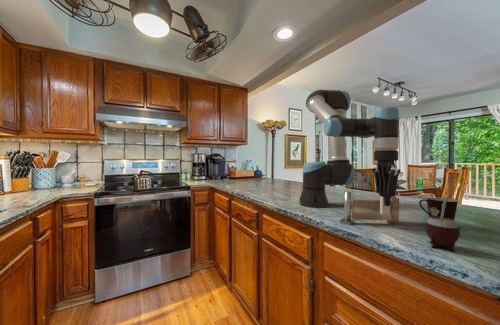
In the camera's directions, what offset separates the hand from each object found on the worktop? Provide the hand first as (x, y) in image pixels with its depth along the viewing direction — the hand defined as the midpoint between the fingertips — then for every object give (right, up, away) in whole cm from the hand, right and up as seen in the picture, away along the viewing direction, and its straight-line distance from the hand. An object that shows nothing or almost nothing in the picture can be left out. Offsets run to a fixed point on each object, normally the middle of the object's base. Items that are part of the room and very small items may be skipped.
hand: (384, 214), depth 76 cm
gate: (-1, -4, +4) cm, 6 cm away
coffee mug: (+23, -5, +3) cm, 24 cm away
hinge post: (-12, -5, +4) cm, 13 cm away
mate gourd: (+4, -5, -18) cm, 19 cm away
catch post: (+6, -5, +7) cm, 10 cm away
